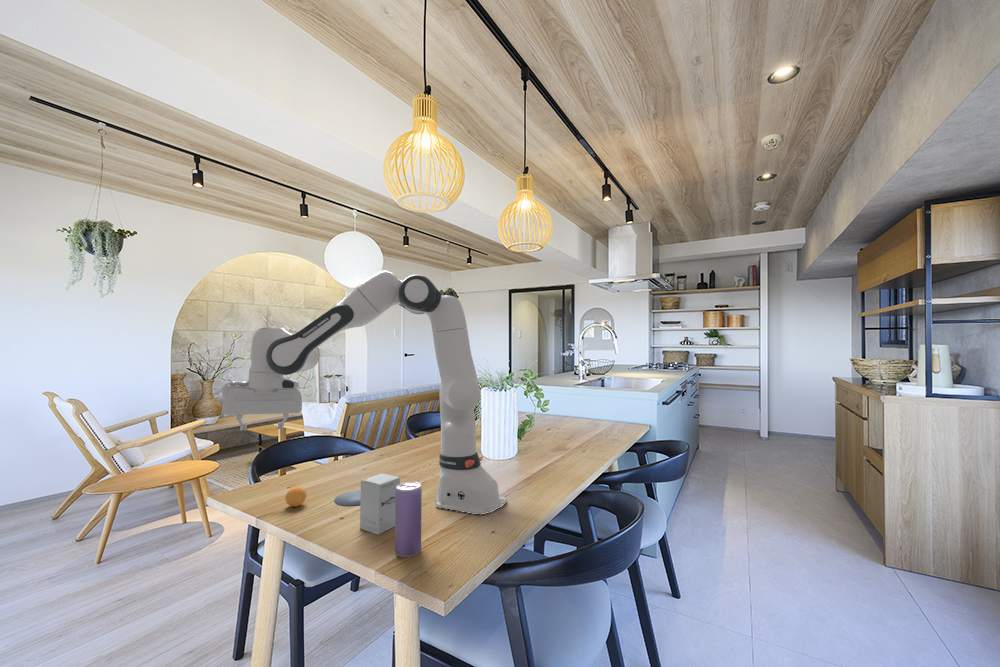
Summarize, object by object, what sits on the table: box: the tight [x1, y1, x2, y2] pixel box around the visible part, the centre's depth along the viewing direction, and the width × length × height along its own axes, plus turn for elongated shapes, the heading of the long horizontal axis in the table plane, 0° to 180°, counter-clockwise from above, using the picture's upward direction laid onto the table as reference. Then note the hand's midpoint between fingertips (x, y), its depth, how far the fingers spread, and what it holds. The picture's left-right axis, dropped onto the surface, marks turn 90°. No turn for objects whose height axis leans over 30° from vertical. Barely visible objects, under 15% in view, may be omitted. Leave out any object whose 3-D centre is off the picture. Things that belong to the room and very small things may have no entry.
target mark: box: [333, 489, 361, 507], centre depth 126 cm, size 13×13×1 cm
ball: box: [284, 486, 307, 508], centre depth 120 cm, size 6×6×6 cm
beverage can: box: [394, 481, 423, 558], centre depth 93 cm, size 6×6×15 cm
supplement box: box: [359, 473, 401, 536], centre depth 106 cm, size 7×7×13 cm
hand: (262, 429), depth 117 cm, fingers open, 8 cm apart
